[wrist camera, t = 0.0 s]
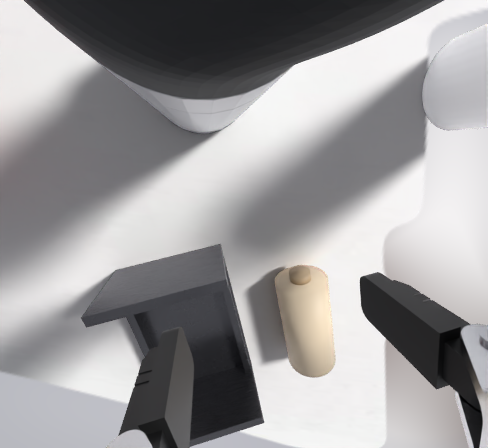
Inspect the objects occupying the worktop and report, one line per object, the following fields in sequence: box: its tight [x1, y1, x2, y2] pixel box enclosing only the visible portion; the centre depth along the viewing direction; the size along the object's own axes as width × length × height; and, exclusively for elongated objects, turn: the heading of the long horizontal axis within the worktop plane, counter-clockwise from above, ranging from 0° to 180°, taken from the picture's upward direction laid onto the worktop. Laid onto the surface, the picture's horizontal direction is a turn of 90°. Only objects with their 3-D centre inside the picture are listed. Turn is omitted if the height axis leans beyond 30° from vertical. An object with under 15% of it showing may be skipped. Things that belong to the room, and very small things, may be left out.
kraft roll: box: [275, 265, 335, 377], centre depth 29 cm, size 14×6×6 cm, turn 12°
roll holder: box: [81, 244, 264, 447], centre depth 26 cm, size 19×12×8 cm, turn 12°
